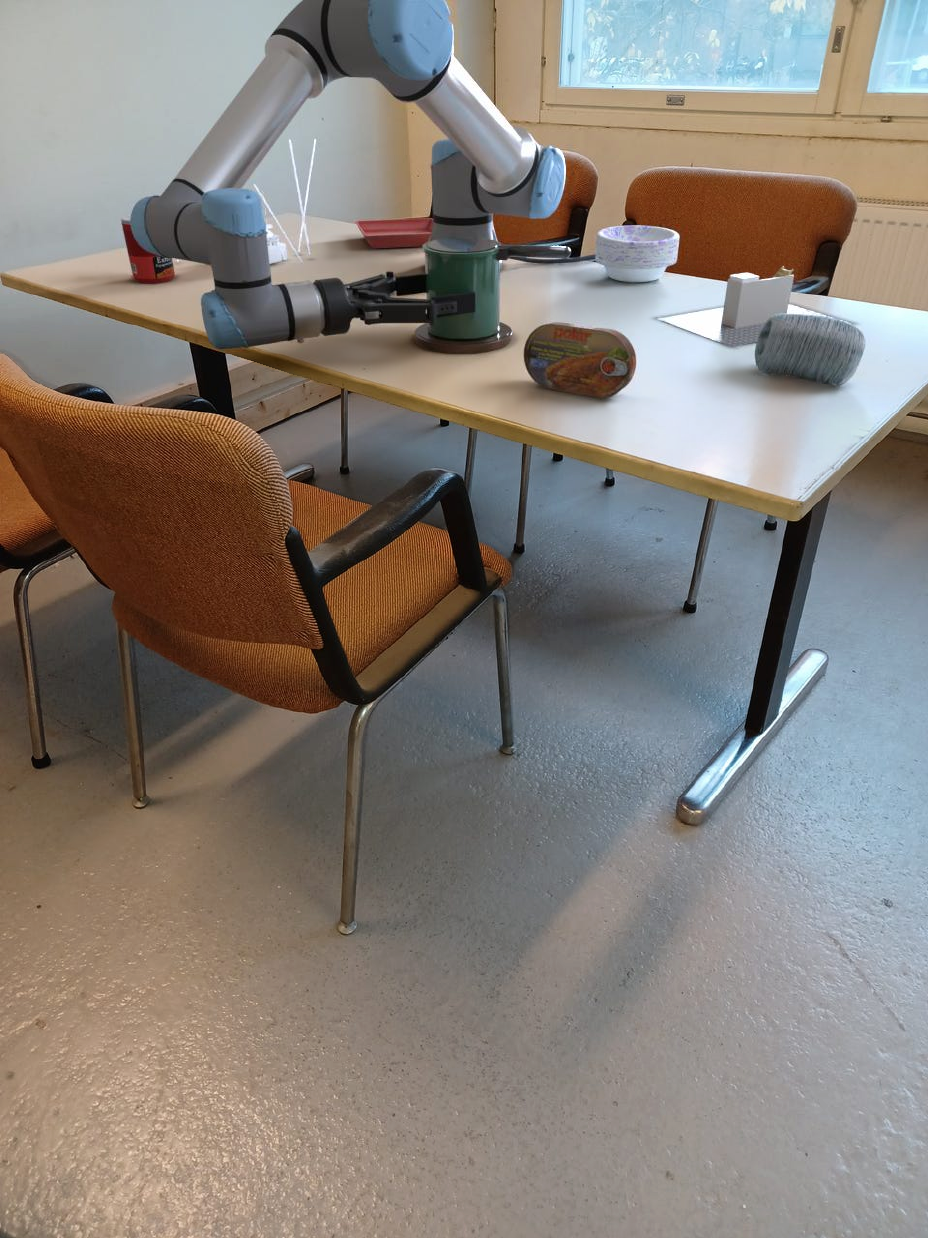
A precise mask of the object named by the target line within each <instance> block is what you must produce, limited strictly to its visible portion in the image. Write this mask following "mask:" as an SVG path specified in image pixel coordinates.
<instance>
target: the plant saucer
mask: <svg viewBox="0 0 928 1238" xmlns="http://www.w3.org/2000/svg"><path fill="white" fill-rule="evenodd" d="M355 225H356V226H357V227H358V229H359V231H360V232H361V234H362V236H363V237H364V238H365V240H366V242H367V243H368V244H369V246H370V247H371V248H372V249H391V248H395V249H396V248H417V247H418V248H420V247H423V245H424V244H425V243H427V242H428V241H429V237H431V233H432V229H433V217H432V218H431V217H428V218H427V217H426V218H425V217H423V218H400V219H399V218H398V219H395V218H394V219H375V220H374V219H372V220H370V219H369V220H356V221H355Z"/></svg>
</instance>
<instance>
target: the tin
mask: <svg viewBox="0 0 928 1238" xmlns="http://www.w3.org/2000/svg"><path fill="white" fill-rule="evenodd" d="M523 363H524V366H525V369H526V371H527V373H528V375H529V377H530V378H531V379H532V380H533V381H534V382H535V383H536V384H537V385H539V386H540V387H542V388H544V389H547V390H551V391H557V392H564V393H570V394H575V395H580V396H584V397H585V396H586V397H591V398H597V399H607V398H611V397H613V396H616V395H617V394H618V393H620V392H621V391H622V390H623V389H625V388H626V387H627V386H628V385H629V384H630V383H631V381H632V380H633V378H634V375H635V373H636V368H637V355H636V350H635V347H634V346H633V344H632V343H631V341H630V340H629V338H628V337H627V336H626V335H624V334H623V333H622V332H620V331H618V330H616V329H613V328H607V327H598V326H590V325H583V324H578V323H577V324H576V323H569V322H563V321H554V322H550V323H549V322H548V323H545V324H542V325H539V326H538V327H536V328H535V329H533V331H531V332H530V334H529V335H528V337H527V339H526V340H525V344H524V348H523Z"/></svg>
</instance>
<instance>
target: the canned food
mask: <svg viewBox="0 0 928 1238" xmlns="http://www.w3.org/2000/svg"><path fill="white" fill-rule="evenodd" d="M130 219H131V214H130V215H126V216H123V217H121V218H120V220H121V227H122V232H123V237H124V241H125V245H126V246H125V247H126V249H127V250H126V251H127V255H128V260H129V264H130V270H131V274H132V277H133V279H134V281H135V282H137V283H141V284H160V283H167V282H171V281H172V280H173V279H175V273H176V271H175V266H174V261H173V258H171V259H170V258H165V257H162V256H159V255H156V254H153V253H150V252H148V251H146V250H145V249H143V248H142V247H141V246H140V245H139V244H138V242H137V241H136V239H135V238H134V235H133V233H132V230H131V223H130Z"/></svg>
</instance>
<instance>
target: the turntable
mask: <svg viewBox="0 0 928 1238" xmlns="http://www.w3.org/2000/svg"><path fill="white" fill-rule="evenodd" d="M512 341H513V329H512V327H511V326H510V325H508V324H506V323H504V322H501V321H499V331H498V332H497V333H495V334H493V335H491V336H487V337H483V338H476V339H448V338H442V337H438V336H435V335H432V334H430V333H429V332H428V330H427V323H422V324H420V325H419V326H418V327H416V328H415V329H414V342H415V344H416V345H417V346H419V347H421V348H423V349H425V350H428V351H433V352H437V353H442V354H456V355H457V354H458V355H460V354H463V355H465V354H480V353H486V352H493V351H497V350H499V349H503V348H505V347H507V346H508V345H509V344H511V343H512Z"/></svg>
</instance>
